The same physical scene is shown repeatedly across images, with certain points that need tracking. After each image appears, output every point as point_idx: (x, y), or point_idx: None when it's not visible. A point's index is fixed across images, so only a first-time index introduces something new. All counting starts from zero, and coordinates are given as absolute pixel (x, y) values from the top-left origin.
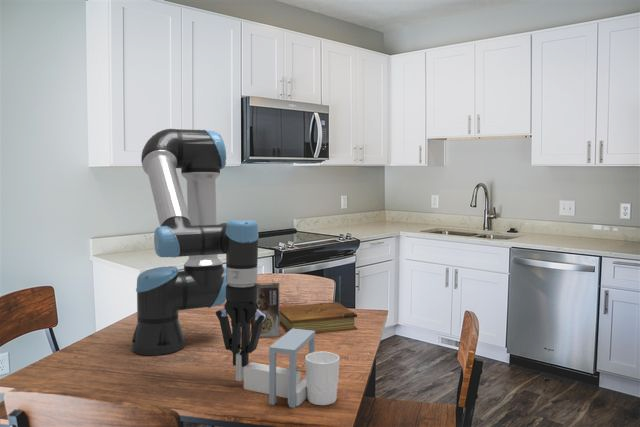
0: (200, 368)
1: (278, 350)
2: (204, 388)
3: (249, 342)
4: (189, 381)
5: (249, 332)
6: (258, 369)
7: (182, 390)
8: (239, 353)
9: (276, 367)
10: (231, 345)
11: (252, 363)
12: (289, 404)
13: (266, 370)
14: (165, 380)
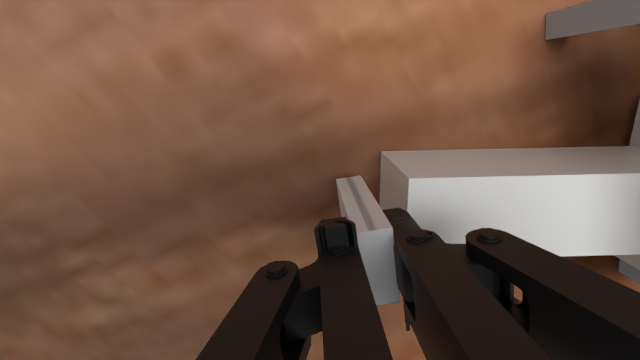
0: (34, 105)
1: None
2: (230, 279)
3: (467, 273)
4: (122, 253)
5: (532, 353)
6: None
7: (168, 329)
8: (376, 283)
9: (594, 185)
10: (309, 326)
11: (426, 195)
12: (629, 277)
13: (553, 249)
14: (27, 289)
